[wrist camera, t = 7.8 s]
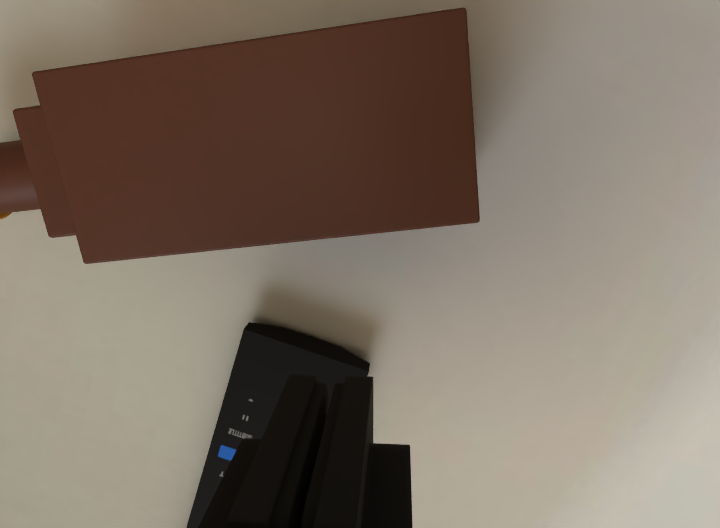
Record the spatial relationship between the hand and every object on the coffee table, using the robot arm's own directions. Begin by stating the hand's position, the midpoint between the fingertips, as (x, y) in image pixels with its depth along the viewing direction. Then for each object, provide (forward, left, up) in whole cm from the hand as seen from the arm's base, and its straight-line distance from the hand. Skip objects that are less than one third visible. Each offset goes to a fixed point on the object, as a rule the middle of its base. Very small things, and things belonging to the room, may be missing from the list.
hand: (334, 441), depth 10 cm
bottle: (-3, -6, -8) cm, 11 cm away
